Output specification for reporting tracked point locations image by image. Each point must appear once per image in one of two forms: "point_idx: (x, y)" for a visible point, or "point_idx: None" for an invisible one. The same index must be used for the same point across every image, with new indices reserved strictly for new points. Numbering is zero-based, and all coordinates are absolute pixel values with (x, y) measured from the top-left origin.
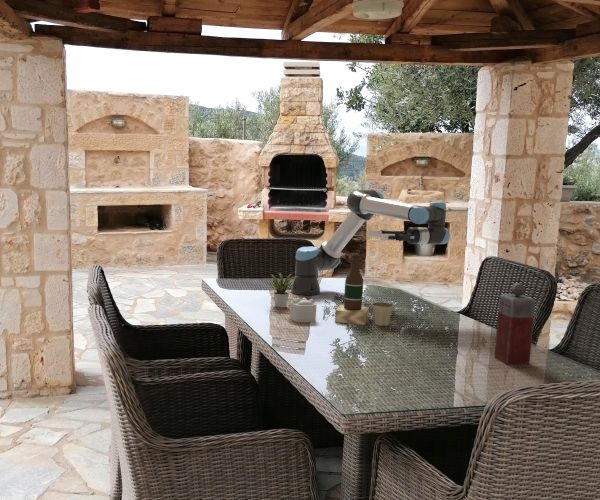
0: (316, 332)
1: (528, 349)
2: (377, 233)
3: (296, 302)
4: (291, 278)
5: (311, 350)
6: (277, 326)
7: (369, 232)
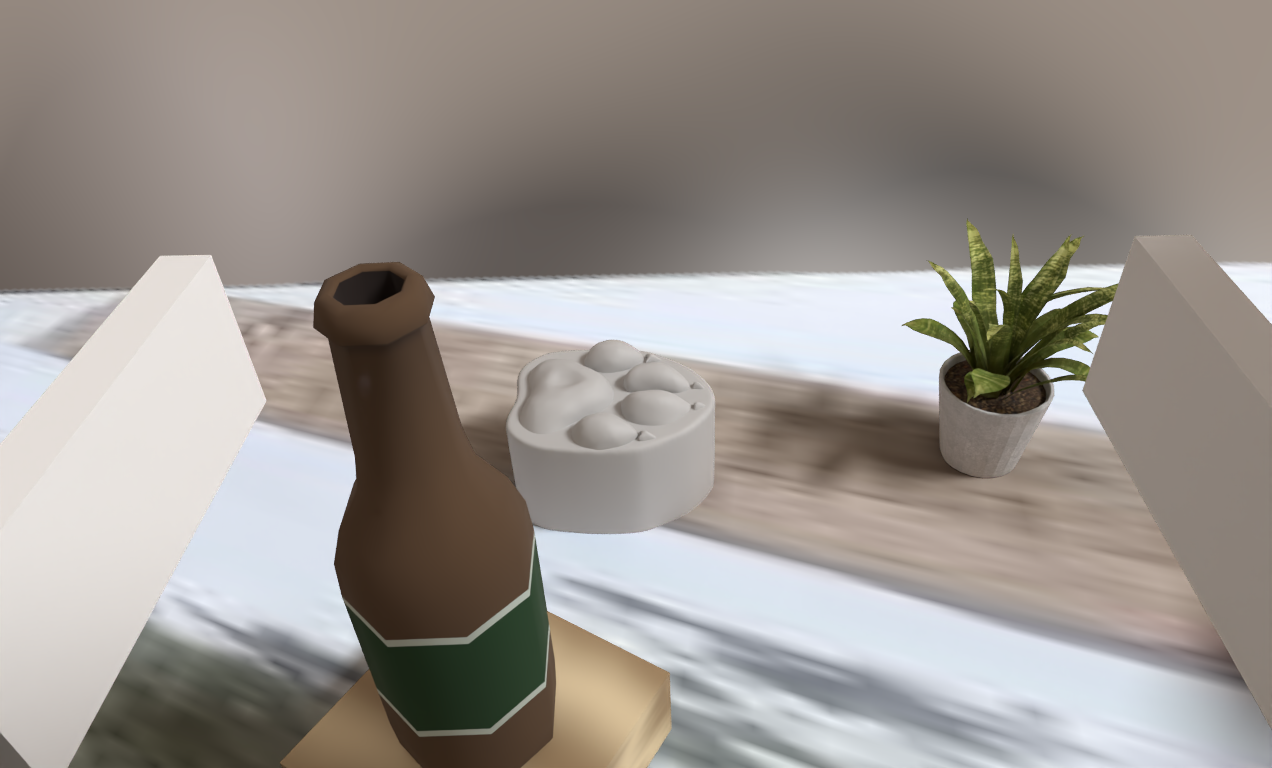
0: (291, 463)
1: None
2: (1265, 544)
3: (586, 358)
4: (1065, 342)
5: (43, 376)
6: (479, 353)
7: (1130, 303)
